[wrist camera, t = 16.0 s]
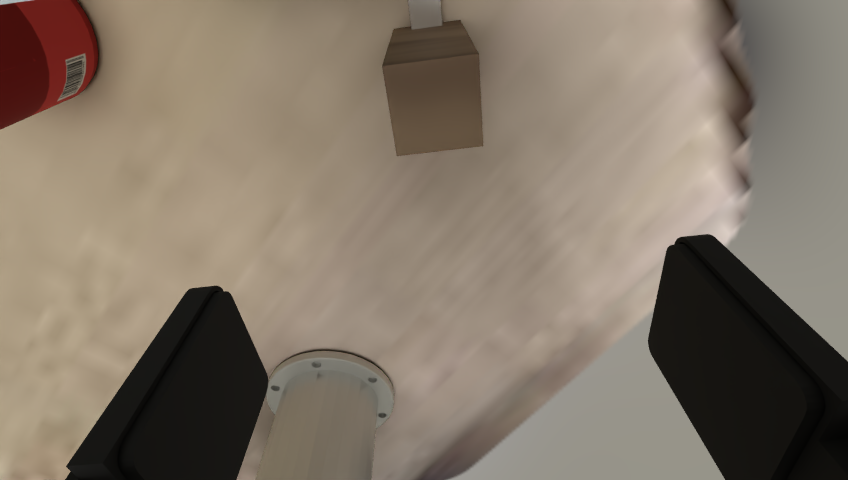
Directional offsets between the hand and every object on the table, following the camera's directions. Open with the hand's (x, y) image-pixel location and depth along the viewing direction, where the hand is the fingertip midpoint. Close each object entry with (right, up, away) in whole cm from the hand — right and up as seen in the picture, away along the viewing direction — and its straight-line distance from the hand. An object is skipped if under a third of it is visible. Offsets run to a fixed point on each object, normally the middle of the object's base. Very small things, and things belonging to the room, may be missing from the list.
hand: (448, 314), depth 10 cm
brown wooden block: (-1, +18, +15) cm, 23 cm away
